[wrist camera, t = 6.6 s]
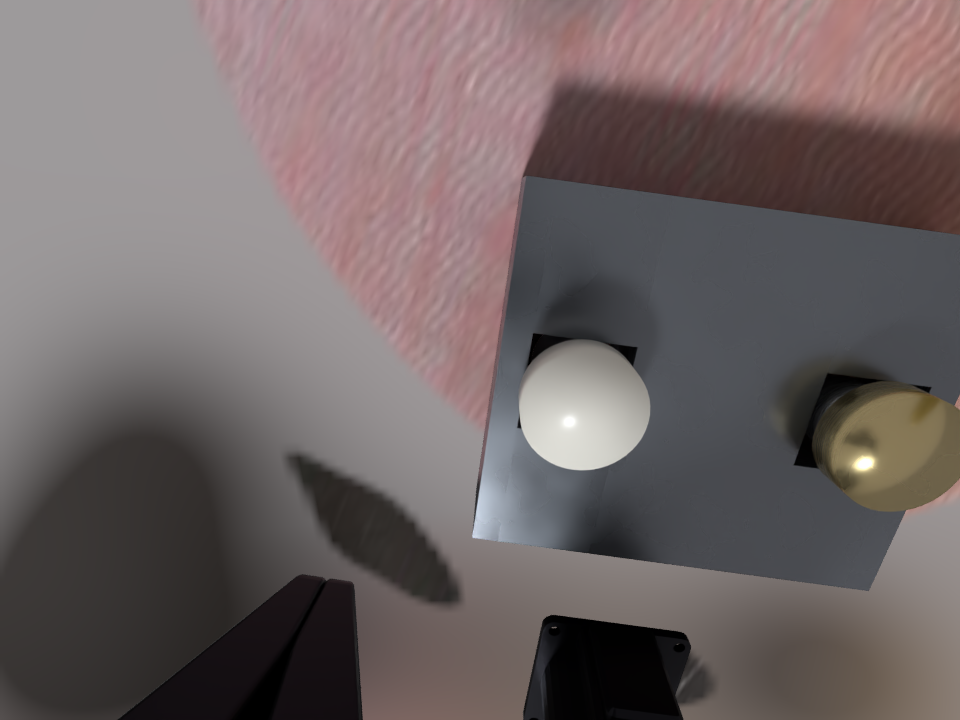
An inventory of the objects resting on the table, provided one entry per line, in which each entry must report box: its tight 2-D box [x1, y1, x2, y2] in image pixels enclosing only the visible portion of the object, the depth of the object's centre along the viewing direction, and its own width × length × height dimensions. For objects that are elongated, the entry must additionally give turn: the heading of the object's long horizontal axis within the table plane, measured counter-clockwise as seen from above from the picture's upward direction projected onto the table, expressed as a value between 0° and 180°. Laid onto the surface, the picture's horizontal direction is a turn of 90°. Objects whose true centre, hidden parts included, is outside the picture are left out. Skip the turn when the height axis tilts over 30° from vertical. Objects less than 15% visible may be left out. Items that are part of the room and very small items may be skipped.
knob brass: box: [805, 373, 960, 512], centre depth 17 cm, size 4×4×5 cm
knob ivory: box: [518, 335, 650, 470], centre depth 17 cm, size 4×4×5 cm
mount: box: [473, 176, 960, 591], centre depth 18 cm, size 12×14×3 cm
